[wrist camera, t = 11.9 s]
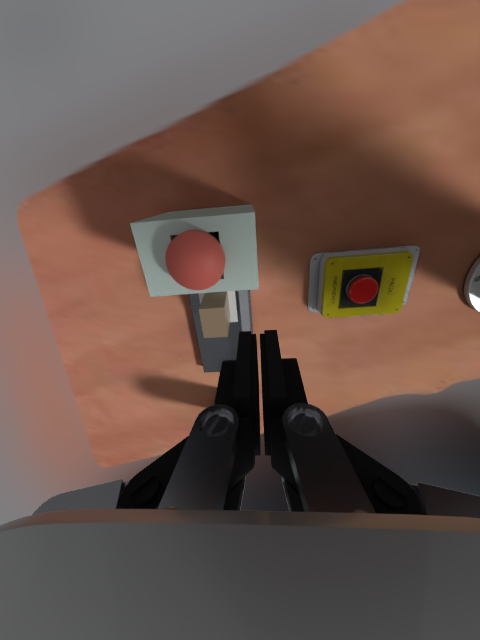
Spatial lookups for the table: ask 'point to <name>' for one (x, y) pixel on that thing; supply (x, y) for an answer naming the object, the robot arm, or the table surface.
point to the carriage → (217, 312)
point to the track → (222, 347)
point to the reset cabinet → (228, 220)
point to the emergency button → (361, 281)
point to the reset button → (195, 259)
